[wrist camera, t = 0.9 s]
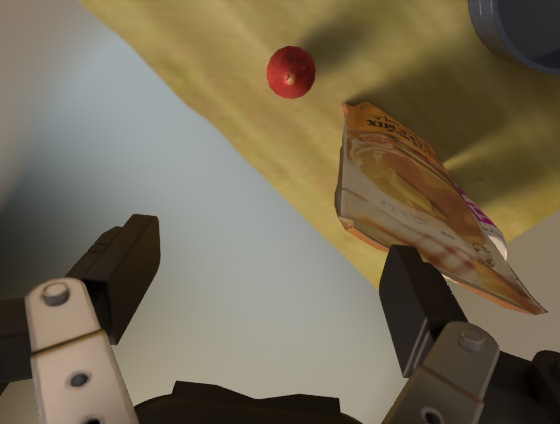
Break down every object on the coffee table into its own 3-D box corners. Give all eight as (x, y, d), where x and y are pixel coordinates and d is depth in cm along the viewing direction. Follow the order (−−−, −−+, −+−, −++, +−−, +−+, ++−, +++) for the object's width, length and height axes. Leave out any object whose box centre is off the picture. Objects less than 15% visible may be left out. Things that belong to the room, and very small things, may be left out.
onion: (270, 42, 46) (265, 47, 39) (316, 45, 46) (320, 51, 39) (267, 90, 49) (262, 103, 42) (311, 94, 49) (313, 108, 42)
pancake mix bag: (419, 195, 55) (519, 344, 30) (314, 124, 51) (330, 230, 26) (453, 160, 52) (593, 292, 28) (345, 81, 48) (395, 153, 23)
